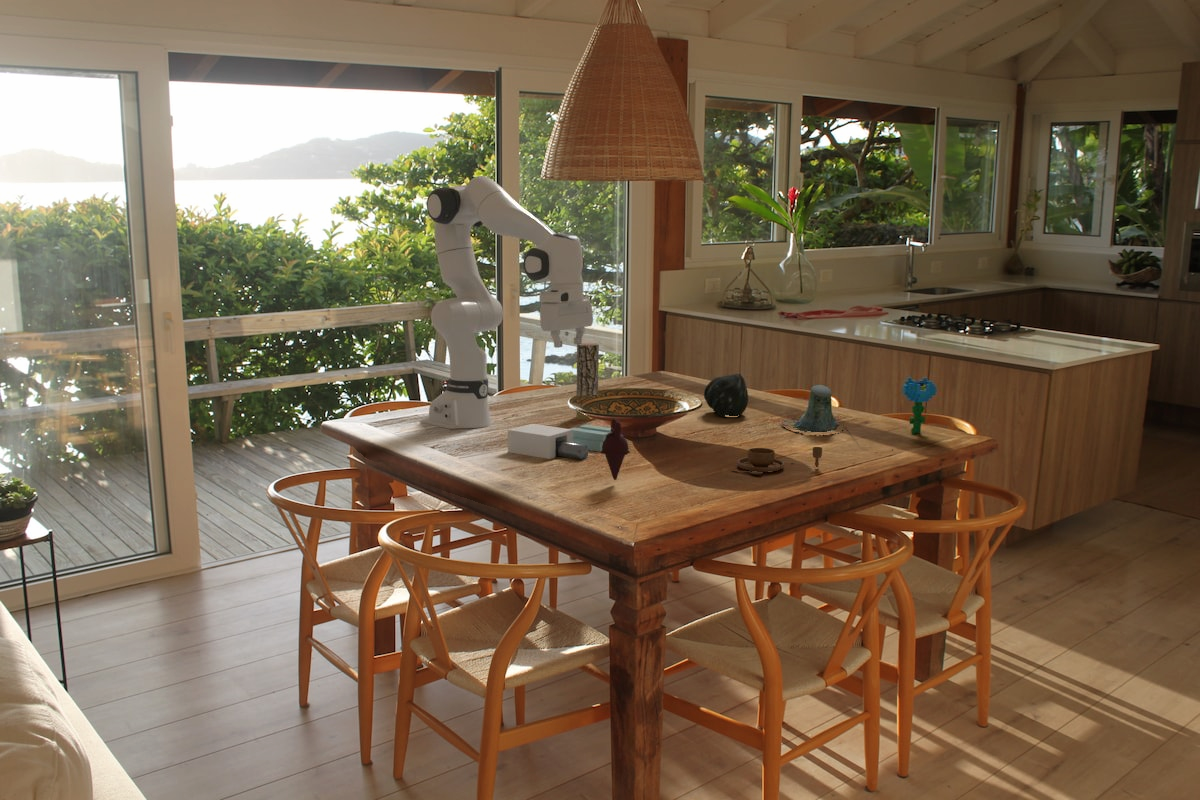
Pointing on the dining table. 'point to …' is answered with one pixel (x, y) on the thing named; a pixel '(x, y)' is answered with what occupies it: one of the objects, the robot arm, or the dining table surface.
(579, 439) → the v block
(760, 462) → the place setting
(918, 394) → the toy flower
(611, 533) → the dining table surface
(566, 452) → the axle
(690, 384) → the dining table surface
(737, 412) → the squash
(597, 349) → the bark textured pillar
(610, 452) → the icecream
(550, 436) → the white notched block
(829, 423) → the green grey mushroom
